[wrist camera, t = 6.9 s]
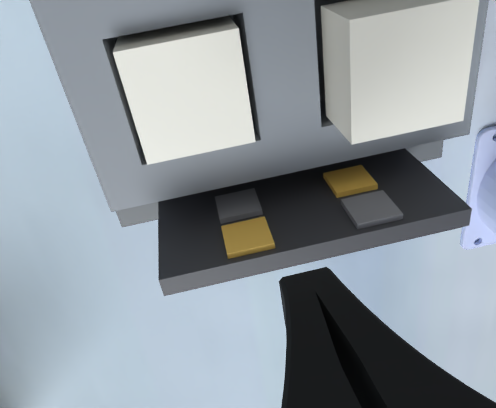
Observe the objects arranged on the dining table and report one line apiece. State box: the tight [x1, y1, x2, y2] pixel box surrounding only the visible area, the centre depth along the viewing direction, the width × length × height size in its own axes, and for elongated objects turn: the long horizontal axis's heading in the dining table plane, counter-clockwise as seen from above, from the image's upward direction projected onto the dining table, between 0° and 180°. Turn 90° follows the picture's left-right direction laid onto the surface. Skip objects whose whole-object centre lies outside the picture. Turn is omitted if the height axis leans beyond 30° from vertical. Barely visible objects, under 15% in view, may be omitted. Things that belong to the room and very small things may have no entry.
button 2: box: [321, 0, 479, 145], centre depth 15 cm, size 4×4×3 cm
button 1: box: [113, 15, 256, 165], centre depth 16 cm, size 4×4×3 cm
